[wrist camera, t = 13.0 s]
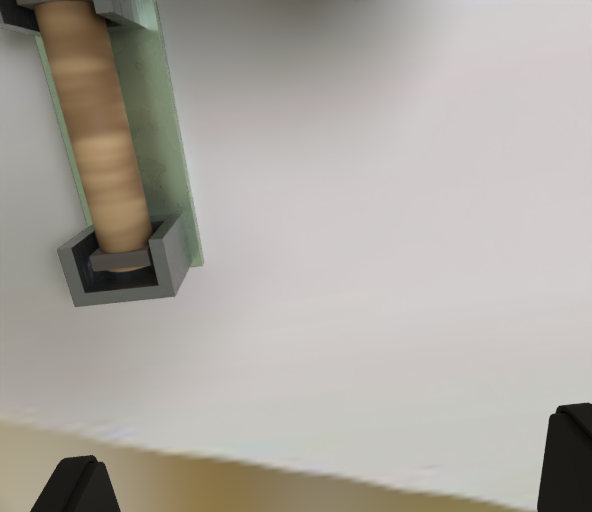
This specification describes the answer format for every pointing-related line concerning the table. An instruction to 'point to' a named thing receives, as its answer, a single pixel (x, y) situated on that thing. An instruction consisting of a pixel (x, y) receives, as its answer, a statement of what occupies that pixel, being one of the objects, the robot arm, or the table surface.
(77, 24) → the rail
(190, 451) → the table surface
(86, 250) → the bracket board
